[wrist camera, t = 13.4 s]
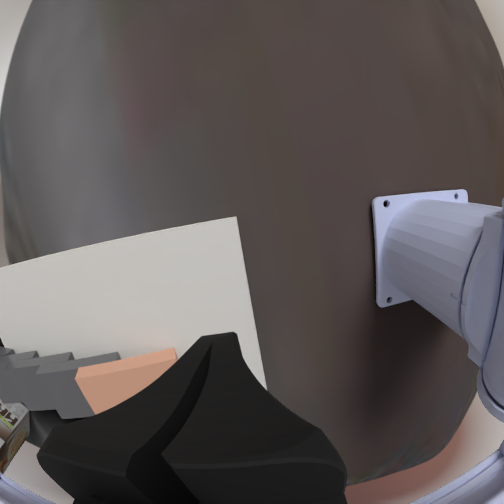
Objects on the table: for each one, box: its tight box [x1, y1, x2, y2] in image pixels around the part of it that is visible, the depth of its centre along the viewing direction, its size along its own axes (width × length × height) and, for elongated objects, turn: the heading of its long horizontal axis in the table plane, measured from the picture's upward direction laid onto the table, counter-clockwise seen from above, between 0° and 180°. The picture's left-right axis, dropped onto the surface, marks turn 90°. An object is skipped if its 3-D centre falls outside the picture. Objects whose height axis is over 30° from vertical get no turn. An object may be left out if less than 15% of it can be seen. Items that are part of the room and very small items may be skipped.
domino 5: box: [75, 348, 178, 414], centre depth 17 cm, size 2×5×8 cm
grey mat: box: [0, 217, 267, 390], centre depth 19 cm, size 28×16×1 cm, turn 99°
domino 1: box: [0, 347, 15, 356], centre depth 19 cm, size 2×5×8 cm
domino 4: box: [35, 352, 121, 419], centre depth 17 cm, size 2×5×8 cm
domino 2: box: [0, 350, 39, 404], centre depth 17 cm, size 2×5×8 cm
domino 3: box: [4, 352, 75, 411], centre depth 17 cm, size 2×5×8 cm
